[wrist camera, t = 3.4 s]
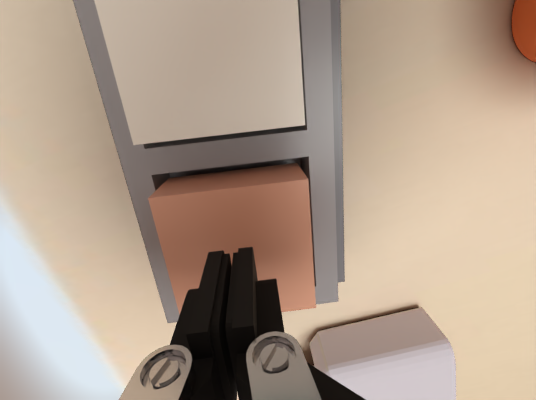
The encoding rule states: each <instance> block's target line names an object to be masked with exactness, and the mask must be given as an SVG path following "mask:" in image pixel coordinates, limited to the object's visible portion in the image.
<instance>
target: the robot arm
mask: <svg viewBox="0 0 536 400" xmlns="http://www.w3.org/2000/svg"><path fill="white" fill-rule="evenodd" d="M237 392H238V397H239V400H366V399H364V398H363V397H361V396H359V395H358V394H356V393H355V392H353V391H351V390H350V389H348V388H347V387H345V386H344V385H342V384H340V383H339V382H337V381H336V380H334V379H333V378H331V377H329V376H328V375H326V374H325V373H323V372H322V371H320V370H318V369H317V368H315V367H314V366H312V365H310V364H309V363H307V361H306V359H305V356H304V354H303V351H302V349H301V346H300V345H299V343H298V341H297V340H296V339H295V338H294V337H292V336H291V335H289V334H287V333H284V327H283V320H282V313H281V306H280V300H279V293H278V286H277V279H276V278H275V279H267V280H259V281H258V279H257V271H256V264H255V257H254V251H253V247H245V248H238V252H236V253H233V259H232V264H231V258H230V254H229V253H228V254H225V253H224V251H223V250H221V251H213V252H208V255H207V259H206V263H205V266H204V270H203V274H202V277H201V281H200V285H199V288H196V289H189V290H188V292H187V294H186V297H185V300H184V303H183V306H182V309H181V312H180V315H179V318H178V321H177V324H176V328H175V331H174V334H173V337H172V340H171V343H170V345H168V346H164V347H162V348H159V349H157V350H155V351H154V352H152V353H150V354H149V355H148V356H147V357H146V358H145V359H144V360H143V361H142V362H141V363H140V365H139V366H138V367H137V369H136V371H135V372H134V374H133V376H132V378H131V379H130V381H129V383H128V385H127V386H126V388H125V390H124V391H123V393H122V395H121V397H120V398H119V400H237Z"/></svg>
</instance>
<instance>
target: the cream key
mask: <svg viewBox="0 0 536 400" xmlns="http://www.w3.org/2000/svg"><path fill="white" fill-rule="evenodd" d="M94 2H95V5H96V9H97V13H98V16H99V20H100V24H101V27H102V31H103V35H104V38H105V42H106V46H107V49H108V53H109V57H110V60H111V64H112V68H113V72H114V75H115V79H116V83H117V86H118V90H119V94H120V97H121V101H122V105H123V108H124V112H125V116H126V119H127V123H128V127H129V130H130V134H131V138H132V142H133V145H139V144H148V143H156V142H165V141H173V140H182V139H191V138H199V137H208V136H216V135H225V134H234V133H242V132H251V131H259V130H268V129H277V128H285V127H294V126H302V125H305V114H304V98H303V81H302V64H301V47H300V31H299V14H298V0H94Z"/></svg>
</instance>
